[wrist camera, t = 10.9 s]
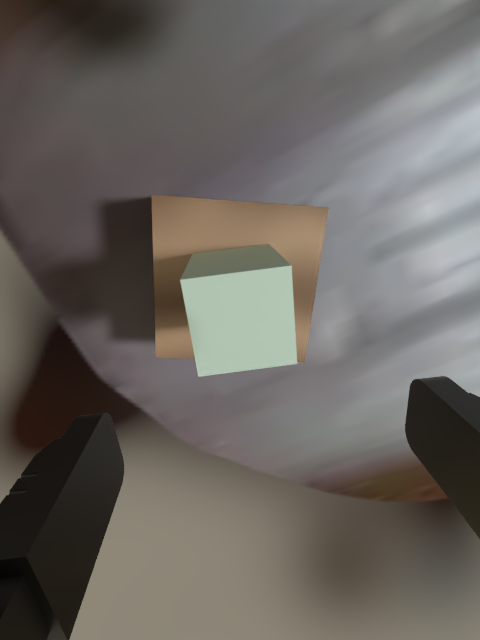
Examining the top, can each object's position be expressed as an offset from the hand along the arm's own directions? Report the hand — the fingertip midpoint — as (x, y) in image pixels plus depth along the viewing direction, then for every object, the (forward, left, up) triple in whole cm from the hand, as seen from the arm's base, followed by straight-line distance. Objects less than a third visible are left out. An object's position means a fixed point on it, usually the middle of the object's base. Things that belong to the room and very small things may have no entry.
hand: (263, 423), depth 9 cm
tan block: (0, 0, -19) cm, 19 cm away
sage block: (0, 0, -14) cm, 14 cm away
